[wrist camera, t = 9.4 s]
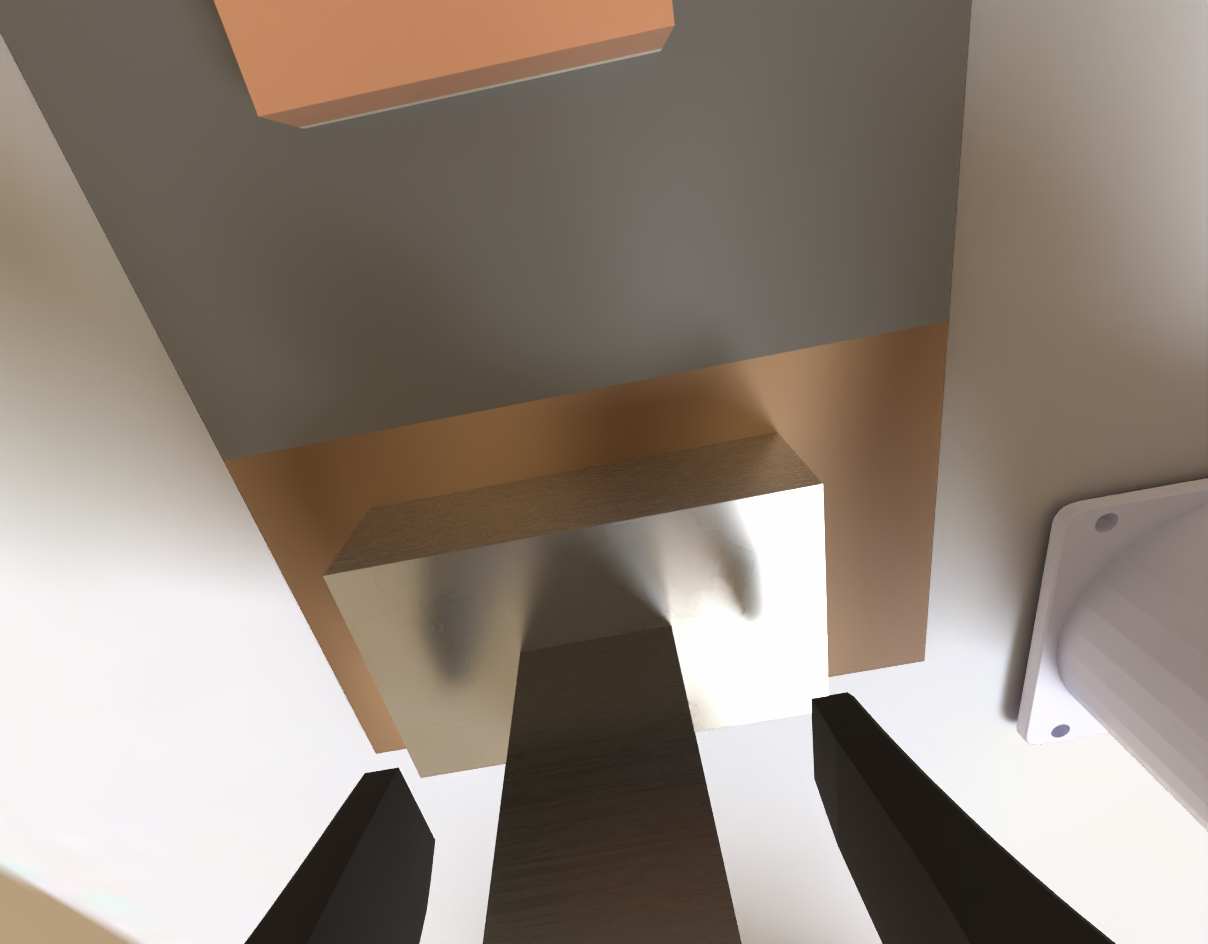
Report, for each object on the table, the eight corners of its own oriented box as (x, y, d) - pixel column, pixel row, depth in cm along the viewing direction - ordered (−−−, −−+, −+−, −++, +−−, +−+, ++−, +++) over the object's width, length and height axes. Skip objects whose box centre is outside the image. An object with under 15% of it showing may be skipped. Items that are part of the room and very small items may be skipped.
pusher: (777, 431, 12) (1069, 767, 5) (789, 630, 15) (999, 1055, 7) (368, 508, 13) (84, 925, 5) (445, 690, 15) (319, 1151, 8)
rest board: (934, 316, 12) (949, 320, 11) (914, 647, 16) (924, 660, 15) (236, 451, 12) (223, 460, 12) (381, 738, 16) (375, 753, 16)
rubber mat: (1007, -882, 6) (1040, -965, 6) (934, 316, 12) (949, 320, 11) (-259, -526, 7) (-319, -578, 6) (236, 451, 12) (223, 460, 12)
